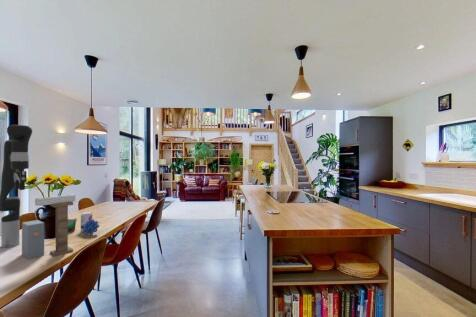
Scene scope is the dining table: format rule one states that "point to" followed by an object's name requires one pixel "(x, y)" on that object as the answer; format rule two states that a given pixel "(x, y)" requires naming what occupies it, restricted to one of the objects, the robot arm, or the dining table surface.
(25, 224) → the block
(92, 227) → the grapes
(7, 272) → the dining table surface
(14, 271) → the dining table surface
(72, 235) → the dining table surface
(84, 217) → the supplement can
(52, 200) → the steel spout bar
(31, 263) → the dining table surface
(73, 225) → the food container
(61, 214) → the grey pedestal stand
